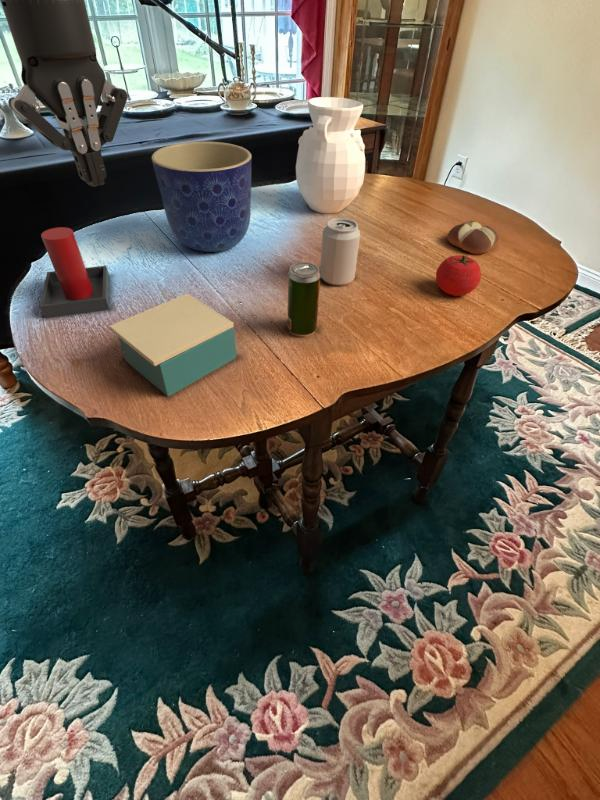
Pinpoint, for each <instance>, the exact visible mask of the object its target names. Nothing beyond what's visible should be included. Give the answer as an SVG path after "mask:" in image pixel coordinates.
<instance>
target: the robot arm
mask: <svg viewBox="0 0 600 800" xmlns="http://www.w3.org/2000/svg"><path fill="white" fill-rule="evenodd" d="M0 4H1V7H2V10H3V13H4V16H5V20H6V22H7V24H8V28H9V32H10V34H11V37H12V39H13V43H14V46H15V49H16V52H17V54H18V57H19V60H20V63H21V72H20V77H21V78H20V79H21V81H22V84H23V85H22V87H21V88H20V91H18V93H17V95H16V96H12V97H10V98H9V99H8V100H7V102H8V106H9V108H10V109H11V110H12V111H13V112H15V113H16V114H17V115H18V116H19V117H20V118H22V119H23V120H24V121H25V122H26V123H27V124H28V125H30V126H31V128H33V129H34V130H35V131H36V132H38V133H39V134H40V135H41V136H42V137H43V138H44V139H46V140H47V141H48V142H49V143H51V145H53V146H54V147H57V148H59V149H60V150H63V151H70V153H72V157H73V161H74V164H75V166H76V170H77V173H78V177H80V179H81V180H82V181H84V182H85V183H86V184H87V185H88V186H91V187H93V188H94V187H99V186H102V185H105V179H107V170H106V166H105V162H104V158H103V156H102V147H103V146H104V145H105V144H107V143H112V142H113V140H114V138H115V135H116V132H117V130H118V127H119V124H120V120H121V118H122V115H123V112H124V109H125V106H126V103H127V101H128V99H129V95H128V93H127V90H126V89H123V88H120V87H117V86H116V85H114V84H113V83H112V82H111V81H109V80H108V79H107V78H106V74H105V71H104V69H103V68H102V66H101V64H100V63H99V61H98V58H97V49H96V48H97V47H96V44H95V40H94V39H95V38H94V36H93V32H92V27H91V23H90V18H89V14H88V9H87V5H86V1H85V0H0ZM37 100H38V101H39V102H40V103H41V104H42V105H43V106H44V107H45V108H46V109H47V110H48V111H49V112H50V113H51V114H52V115H54V117H55V121H56V122H57V125H58V126H59V127H60V129H61V132H62V133H61V132H60V131H59V130H58V129H57V128H56V127H54V126H53V124H51V123H50V122H49V121H48V120H47V119H45V117H44V116H43V115H42V114H41V106H40V104H39V103H38V102H37ZM100 100H101V101H102V104H101V107H100V110H99V113H98V112H97V110H98V107H99V104H100Z"/></svg>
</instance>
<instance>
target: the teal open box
mask: <svg viewBox="0 0 600 800" xmlns="http://www.w3.org/2000/svg"><path fill="white" fill-rule="evenodd" d="M117 337H118V336H117ZM118 341H119V344H120V346H121V347H120V348H121V350H122V353H123V356H124V360H125V362H126V363H128V364H129V365H130V366H131V367H132V368H134V369H135V370H136V371H137V372H138V373H140V375H141V376H143V377H144V378H145V379H146V380H148V381H149V382H150V383H151V384H152V385H153V386H154V387H156V388H157V389H158V390H159V391H161V392H162V393H163V394H164V395H165V396H166V397H170V396H172V395H174V394H175V393H177V392H180V391H181V390H183V389H185V388H186V387H188V386H189V385H191V384H193V383H195V382H197V381H198V380H200V379H202V378H204V377H205V376H207V375H209V374H210V373H213V372H214V371H216V370H217V369H220V368H221V367H223V366H225V365H226V364H228V363H230V362H232V361H234V360H235V359H237V347H236V338H235V327H232V328H230V329H228V330H226V331H224V332H222V333H220V334H218V335H216V336H214V337H212V338H210V339H208V340H206V341H204V342H202V343H200V344H198V345H196V346H194V347H192V348H190V349H188V350H186V351H184V352H182V353H180V354H178V355H176V356H174V357H172V358H170V359H168V360H166V361H164V362H162V363H160V364H158V365H156V366H154V365H152V364H151V363H150V362H149V361H147V360H146V359H145V358H144V357H143V356H141V355H140V354H139V353H138V352H136V351H135V350H134V349H133V348H132V347H130V346H129V345H128V344H127V343H126V342H124V341H123V340H122V339H121V338H119V337H118Z"/></svg>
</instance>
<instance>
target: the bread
mask: <svg viewBox="0 0 600 800" xmlns="http://www.w3.org/2000/svg"><path fill="white" fill-rule="evenodd" d="M446 238H447V240H448V242H449V243H450V244H451V245H453V246H455V247H457V248H459V249H461V250H462V251H466V252H468V253H469V254H475V255H481V254H485V253H487V252H489V251H491V250H493V248H494V247H496V246H497V244H498V243H499V236H498V233H497V232H496V230H495V229H494V228H492V227H491V226H489V225H483V226H482V225H481V223H479V222H477V221H475V220H471V221H465V222H463V223H460V224H457V225H455V226H453V227H452V228H451V229H450V230H449V231H448V233H447V237H446Z"/></svg>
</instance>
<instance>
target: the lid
mask: <svg viewBox="0 0 600 800" xmlns="http://www.w3.org/2000/svg"><path fill="white" fill-rule="evenodd" d="M234 325H235V324H234V322H233V321H232V320H230V319H229V318H227V317H225V316H224V315H222V314H221V313H219V312H218V311H216V310H214V309H212V308H211V307H210V306H208V305H207V304H205V303H204V302H202V301H201V300H199V299H197V298H196V297H194V296H192V295H191V294H189V293H185V294H182V295H180V296H178V297H175V298H172V299H171V300H168V301H166V302H163V303H161V304H159V305H156V306H154V307H151V308H149V309H147V310H144V311H142V312H139V313H137V314H135V315H132V316H129V317H127V318H124V319H122V320H120V321H118V322H115V323H113V324H110V325H108V326H109V330H110V331H111V332H112V333H113V334H114V335H116V336H117V337H119V338H121V339H122V340H123V341H124V342H126V343H127V344H128V345H129V346H130V347H132V348H133V349H134V350H135V351H136V352H138V353H139V354H140V355H141V356H143V357H144V358H145V359H146V360H147V361H149V362H150V363H151V364H152V365H154V366H156V365H158V364H160V363H162V362H164V361H166V360H168V359H170V358H172V357H174V356H176V355H178V354H180V353H182V352H184V351H186V350H188V349H190V348H192V347H194V346H196V345H198V344H200V343H202V342H204V341H206V340H208V339H210V338H212V337H214V336H216V335H218V334H220V333H222V332H224V331H226V330H228V329H230V328H232V327H234ZM234 328H235V327H234ZM119 338H118V339H119Z"/></svg>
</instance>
